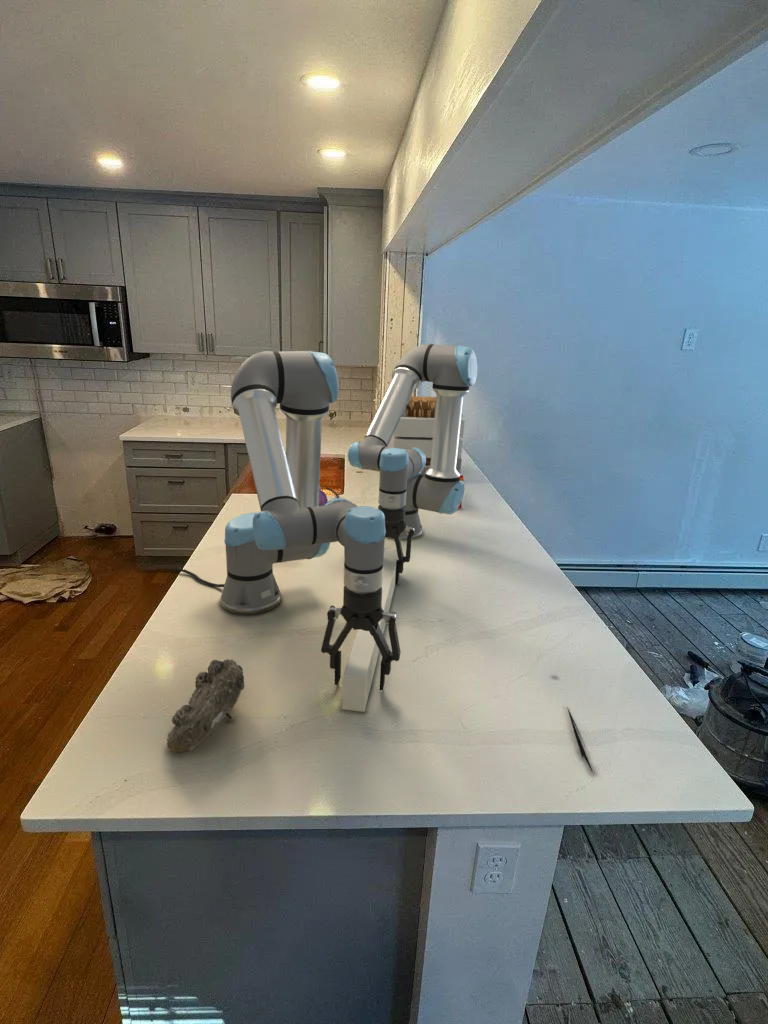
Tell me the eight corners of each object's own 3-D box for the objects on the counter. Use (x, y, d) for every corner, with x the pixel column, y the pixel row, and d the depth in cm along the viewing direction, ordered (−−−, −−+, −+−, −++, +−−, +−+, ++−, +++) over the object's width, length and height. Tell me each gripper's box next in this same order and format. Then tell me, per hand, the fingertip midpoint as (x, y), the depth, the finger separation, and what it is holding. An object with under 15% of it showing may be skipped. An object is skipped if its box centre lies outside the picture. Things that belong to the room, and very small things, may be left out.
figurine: (309, 516, 212) (309, 477, 207) (300, 507, 221) (300, 470, 216) (333, 513, 216) (333, 475, 211) (323, 504, 225) (323, 468, 220)
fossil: (192, 660, 117) (244, 628, 112) (224, 691, 120) (276, 661, 115) (142, 746, 98) (202, 712, 93) (182, 779, 101) (242, 748, 96)
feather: (555, 681, 125) (561, 675, 124) (592, 776, 98) (600, 769, 98) (549, 677, 125) (554, 671, 124) (584, 771, 98) (592, 764, 98)
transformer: (382, 463, 289) (386, 382, 275) (445, 464, 293) (451, 384, 279) (390, 482, 257) (394, 392, 243) (460, 483, 261) (468, 394, 247)
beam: (383, 572, 170) (384, 548, 168) (398, 573, 170) (399, 549, 167) (342, 709, 112) (342, 676, 109) (364, 712, 111) (365, 678, 109)
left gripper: (304, 589, 108) (304, 688, 115) (416, 600, 105) (409, 701, 113) (313, 572, 115) (313, 667, 122) (419, 582, 112) (412, 678, 120)
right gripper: (358, 507, 153) (355, 584, 161) (422, 512, 151) (417, 590, 159) (362, 498, 160) (360, 573, 168) (424, 503, 158) (419, 578, 166)
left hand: (359, 683), depth 118 cm, fingers open, 9 cm apart
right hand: (387, 581), depth 163 cm, fingers closed on beam, 4 cm apart
